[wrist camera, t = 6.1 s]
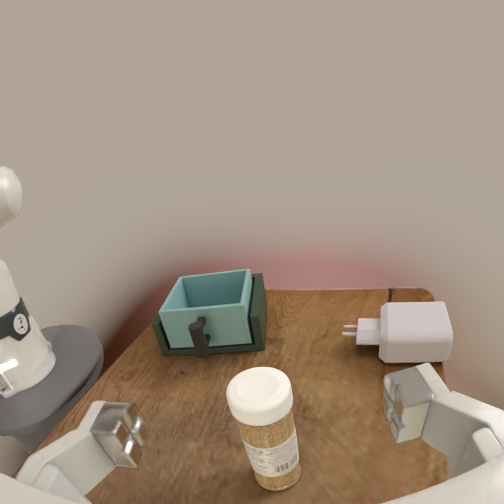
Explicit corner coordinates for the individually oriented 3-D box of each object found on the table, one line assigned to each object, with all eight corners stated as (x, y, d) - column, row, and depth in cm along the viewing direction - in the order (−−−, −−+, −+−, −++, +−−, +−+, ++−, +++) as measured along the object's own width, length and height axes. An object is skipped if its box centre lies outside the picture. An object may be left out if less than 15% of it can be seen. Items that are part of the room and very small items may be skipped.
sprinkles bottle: (291, 450, 28) (277, 357, 23) (308, 482, 23) (301, 395, 19) (248, 464, 27) (218, 375, 22) (262, 498, 22) (233, 418, 18)
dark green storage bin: (163, 355, 47) (151, 324, 45) (184, 310, 60) (176, 282, 58) (264, 349, 45) (258, 316, 43) (266, 302, 58) (262, 272, 56)
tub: (163, 366, 42) (148, 329, 40) (188, 308, 57) (179, 276, 55) (249, 362, 41) (241, 322, 38) (256, 302, 56) (250, 268, 54)
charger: (346, 325, 47) (439, 324, 41) (338, 365, 39) (447, 365, 33) (345, 299, 45) (443, 298, 39) (338, 337, 37) (454, 336, 31)
